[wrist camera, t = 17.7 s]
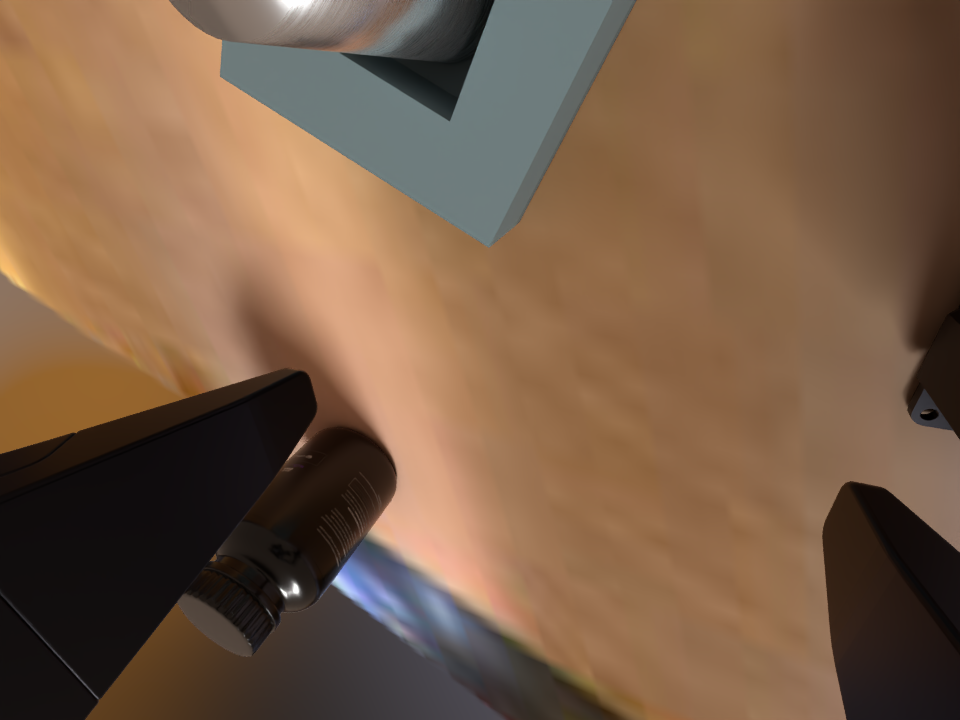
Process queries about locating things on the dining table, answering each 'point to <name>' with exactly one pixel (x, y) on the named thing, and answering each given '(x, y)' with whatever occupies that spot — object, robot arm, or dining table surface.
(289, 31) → the grey cylindrical piece
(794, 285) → the dining table surface
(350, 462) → the supplement bottle
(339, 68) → the socket
